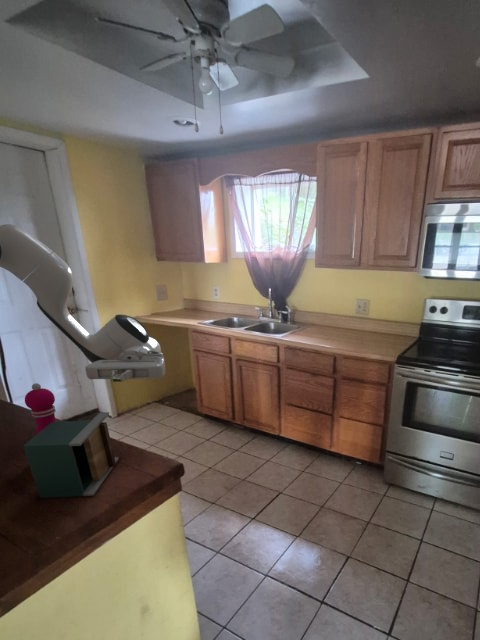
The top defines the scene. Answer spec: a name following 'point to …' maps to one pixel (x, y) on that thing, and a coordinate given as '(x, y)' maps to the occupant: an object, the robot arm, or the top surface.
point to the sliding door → (99, 451)
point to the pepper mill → (41, 406)
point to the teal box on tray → (64, 459)
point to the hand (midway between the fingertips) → (116, 379)
